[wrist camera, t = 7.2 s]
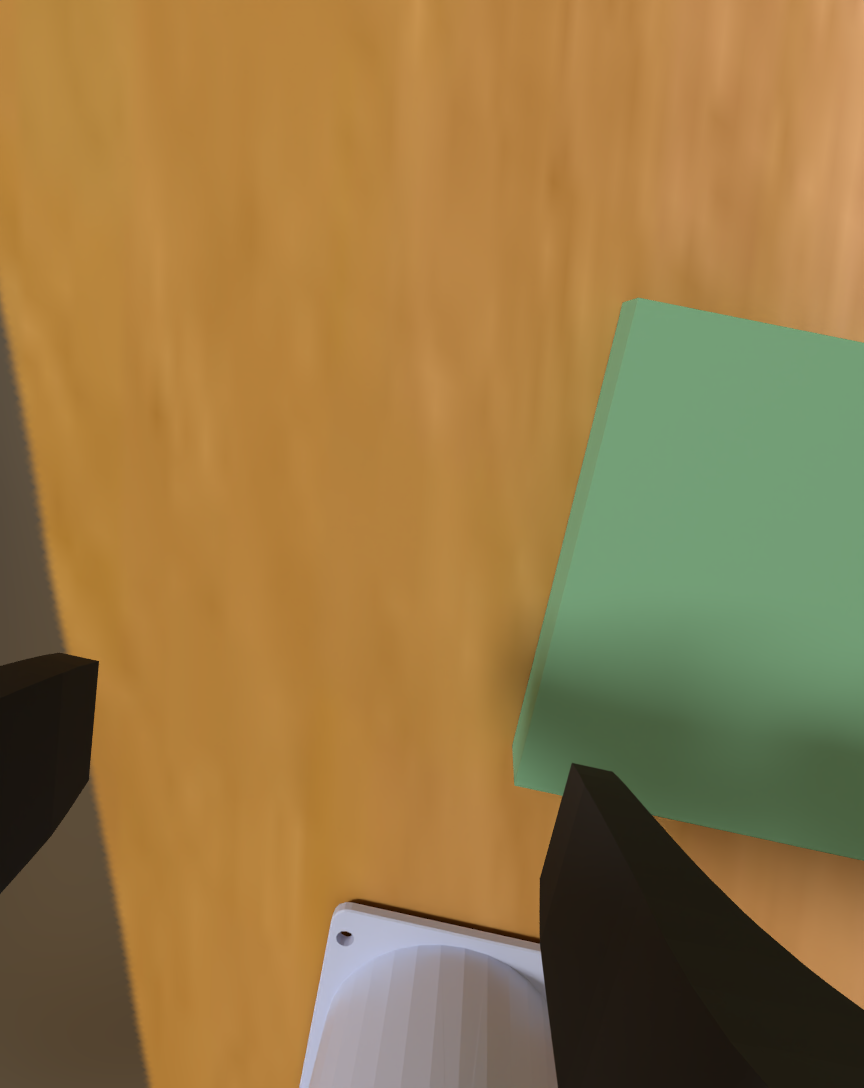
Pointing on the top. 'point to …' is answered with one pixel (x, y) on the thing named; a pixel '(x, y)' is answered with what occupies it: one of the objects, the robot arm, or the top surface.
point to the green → (714, 584)
